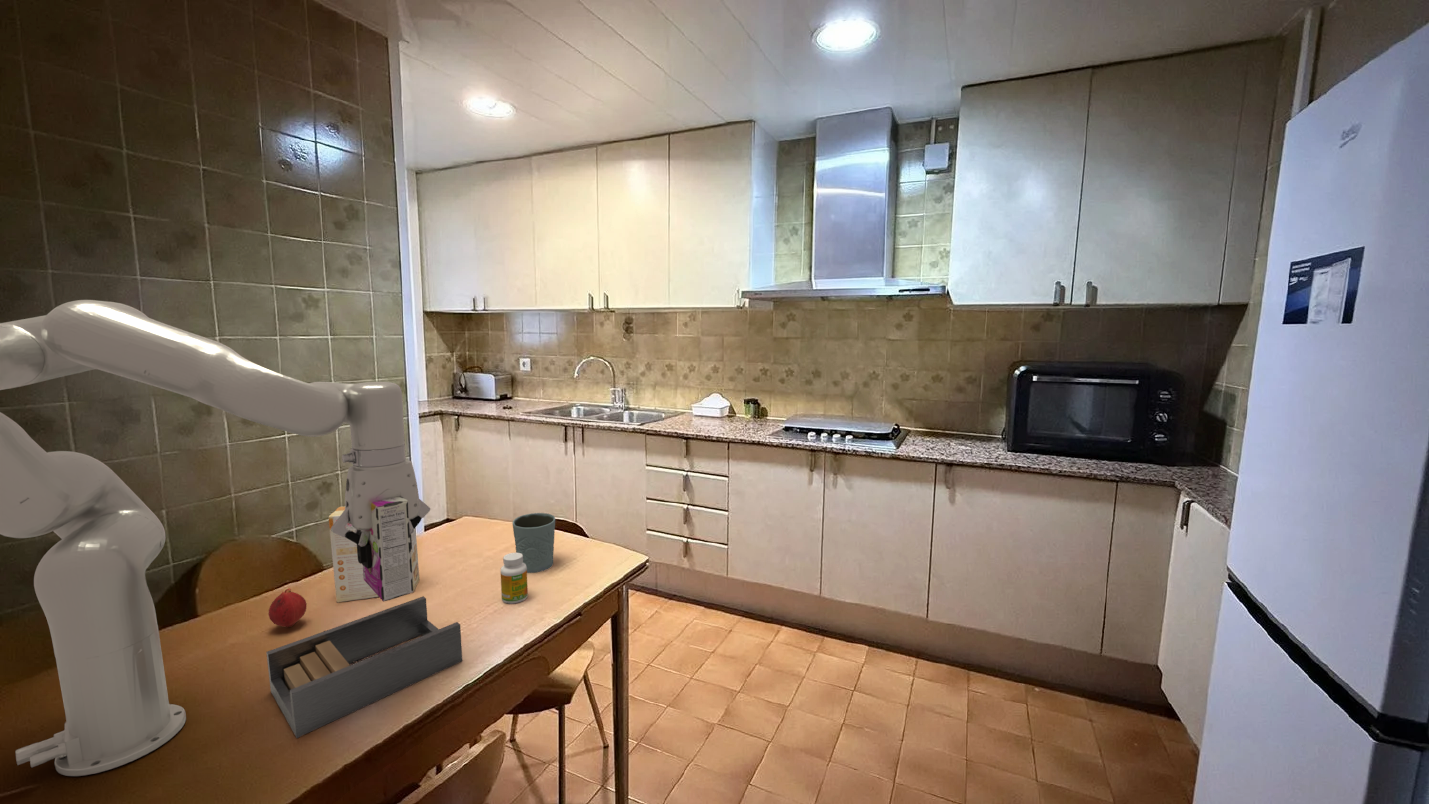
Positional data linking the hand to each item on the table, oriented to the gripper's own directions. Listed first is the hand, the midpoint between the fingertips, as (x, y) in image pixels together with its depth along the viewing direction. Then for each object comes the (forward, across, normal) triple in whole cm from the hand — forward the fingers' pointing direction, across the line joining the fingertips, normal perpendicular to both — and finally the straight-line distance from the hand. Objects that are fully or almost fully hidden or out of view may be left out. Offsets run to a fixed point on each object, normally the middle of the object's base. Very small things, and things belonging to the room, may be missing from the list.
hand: (385, 559), depth 92 cm
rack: (+20, -3, 0) cm, 20 cm away
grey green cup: (+19, +39, +17) cm, 46 cm away
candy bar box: (+5, 0, 0) cm, 5 cm away
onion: (+20, -8, +29) cm, 36 cm away
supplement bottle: (+20, +27, +6) cm, 34 cm away
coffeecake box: (+20, +9, +32) cm, 38 cm away
